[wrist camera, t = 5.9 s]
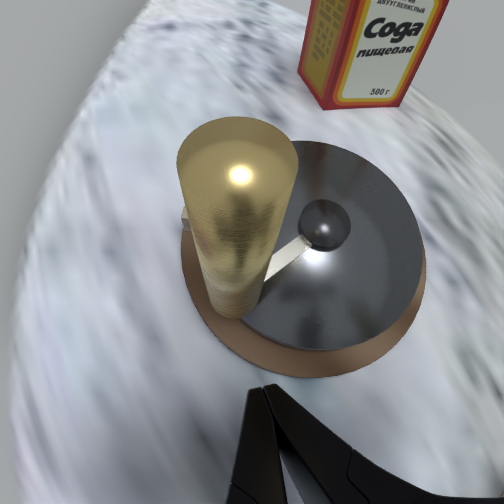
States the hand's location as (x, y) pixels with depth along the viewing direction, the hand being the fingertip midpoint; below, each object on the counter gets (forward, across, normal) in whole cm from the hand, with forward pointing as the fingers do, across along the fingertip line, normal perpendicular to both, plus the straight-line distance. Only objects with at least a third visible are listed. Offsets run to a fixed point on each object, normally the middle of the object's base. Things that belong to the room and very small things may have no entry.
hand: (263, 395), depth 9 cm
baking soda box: (+24, -17, -10) cm, 31 cm away
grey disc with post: (+11, -6, 0) cm, 13 cm away
